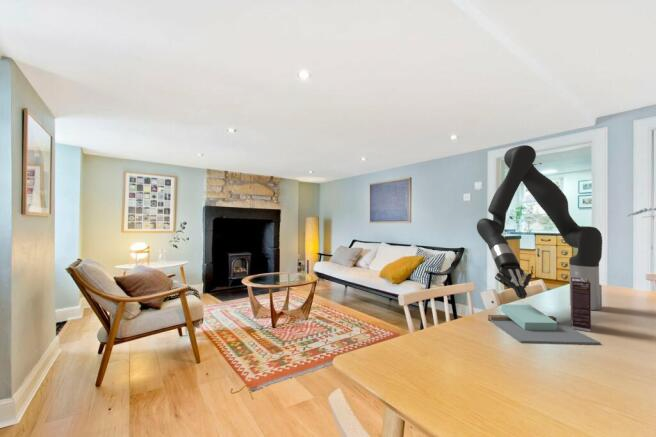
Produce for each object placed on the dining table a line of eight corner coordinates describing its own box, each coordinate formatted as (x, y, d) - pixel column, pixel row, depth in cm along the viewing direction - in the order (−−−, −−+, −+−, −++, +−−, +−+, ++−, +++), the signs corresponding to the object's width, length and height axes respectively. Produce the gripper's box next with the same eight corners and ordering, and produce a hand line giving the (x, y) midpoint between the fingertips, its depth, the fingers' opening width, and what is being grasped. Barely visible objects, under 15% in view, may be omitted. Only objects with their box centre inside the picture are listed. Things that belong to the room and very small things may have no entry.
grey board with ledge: (488, 319, 105) (488, 314, 105) (552, 321, 104) (552, 315, 104) (520, 342, 85) (520, 336, 85) (600, 344, 84) (600, 338, 84)
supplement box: (591, 332, 93) (591, 282, 93) (572, 329, 96) (571, 280, 96) (588, 324, 100) (588, 278, 100) (570, 321, 103) (569, 276, 103)
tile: (501, 304, 107) (525, 322, 93) (529, 304, 107) (557, 322, 93) (501, 310, 108) (524, 329, 94) (528, 311, 107) (556, 330, 93)
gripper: (490, 252, 112) (507, 291, 100) (526, 252, 111) (548, 291, 99) (483, 263, 117) (499, 302, 105) (518, 263, 116) (538, 303, 104)
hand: (523, 297), depth 102 cm, fingers closed
